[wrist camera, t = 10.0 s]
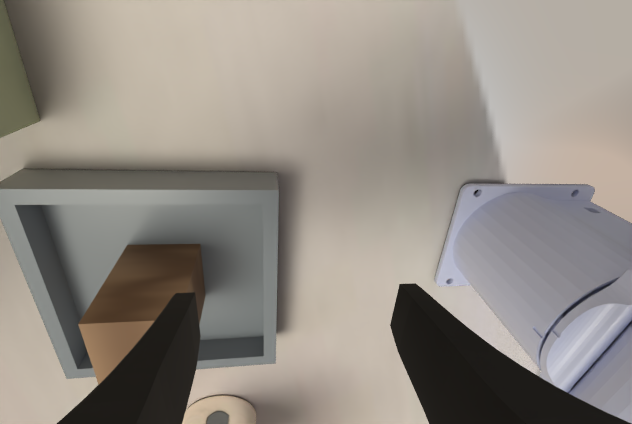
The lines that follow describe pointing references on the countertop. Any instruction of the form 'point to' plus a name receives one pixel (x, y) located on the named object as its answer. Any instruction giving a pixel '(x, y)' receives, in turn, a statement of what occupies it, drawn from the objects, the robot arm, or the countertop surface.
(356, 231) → the countertop surface
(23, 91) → the olive block
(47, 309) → the grey tray
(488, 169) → the countertop surface
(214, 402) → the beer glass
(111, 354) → the walnut block
